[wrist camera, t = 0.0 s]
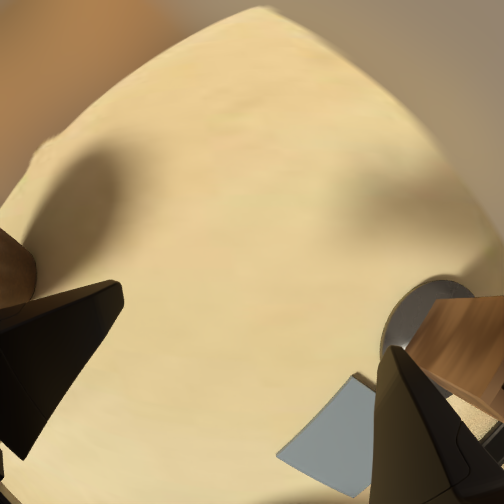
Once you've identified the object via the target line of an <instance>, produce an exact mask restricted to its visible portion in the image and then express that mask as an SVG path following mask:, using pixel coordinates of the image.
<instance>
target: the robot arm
mask: <svg viewBox="0 0 504 504" xmlns="http://www.w3.org/2000/svg"><path fill="white" fill-rule="evenodd" d="M123 307H124V296H123V291H122V285H121V283H120V282H118V281H115V280H106V281H103V282H99V283H95V284H91V285H88V286H84V287H80V288H77V289H73V290H69V291H65V292H62V293H58V294H54V295H51V296H47V297H43V298H40V299H36V300H33V301H29V302H27V303H26V302H25V303H22V304H18V305H14V306H10V307H6V308H2V309H0V443H1V442H3V443H4V444H5V445H6V446H7V447H8V448H9V449H10V450H11V451H12V452H13V453H14V454H16V455H17V456H18V457H19V458H20V459H21V460H22V461H24V460H25V458H26V457H27V455H28V453H29V452H30V450H31V448H32V446H33V445H34V443H35V441H36V440H37V438H38V436H39V435H40V433H41V431H42V430H43V428H44V427H45V425H46V423H47V421H48V420H49V418H50V417H51V415H52V414H53V412H54V410H55V409H56V407H57V406H58V404H59V403H60V401H61V400H62V398H63V397H64V395H65V394H66V392H67V391H68V389H69V388H70V386H71V385H72V383H73V382H74V381H75V379H76V378H77V376H78V375H79V373H80V372H81V370H82V369H83V368H84V366H85V365H86V363H87V362H88V361H89V359H90V358H91V356H92V355H93V354H94V352H95V351H96V350H97V348H98V347H99V345H100V344H101V343H102V341H103V340H104V338H105V337H106V335H107V334H108V332H109V330H110V329H111V327H112V325H113V324H114V322H115V320H116V319H117V317H118V315H119V314H120V312H121V311H122V309H123ZM3 478H4V469H3V455H2V450H1V449H0V504H22V503H21V502H20V501H19V500H18V499H17V498H16V497H15V496H14V495H13V494H12V493H11V492H10V491H9V490H8V489H7V488H6V487H5V486H4V485H3V483H2V482H1V481H2V479H3ZM369 504H504V470H503V468H502V467H501V466H500V465H499V464H498V463H497V462H496V460H495V459H494V458H493V457H492V456H491V455H490V454H489V453H488V451H487V450H486V449H485V448H484V447H483V446H482V445H481V443H480V442H479V441H478V440H477V439H476V437H475V436H474V435H473V434H472V432H471V431H470V430H469V428H468V427H467V426H466V425H465V423H464V422H463V421H461V418H460V417H459V416H458V414H457V413H456V412H455V410H454V409H453V408H452V407H451V405H450V404H449V403H448V402H447V400H446V399H445V398H444V397H443V395H442V394H441V393H440V392H439V390H438V389H437V388H436V387H435V385H434V384H433V383H432V382H431V381H430V379H429V378H428V377H427V376H426V375H425V373H424V372H423V371H422V370H421V369H420V367H419V366H418V365H417V364H416V363H415V361H414V360H413V359H412V358H411V357H410V356H409V354H408V353H407V352H406V351H405V350H404V349H403V348H402V347H401V346H396V345H390V346H388V348H387V349H386V351H385V353H384V355H383V357H382V359H381V361H380V363H379V366H378V370H377V383H376V395H375V405H374V435H373V462H372V477H371V489H370V498H369Z"/></svg>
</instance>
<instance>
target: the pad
mask: <svg viewBox="0 0 504 504" xmlns="http://www.w3.org/2000/svg"><path fill="white" fill-rule="evenodd" d="M375 395H376V392H374V391H373V390H371V389H370V388H369V387H367V386H366V385H364V384H363V383H361V382H360V381H359V380H357V379H356V378H354V377H353V376H350V378H349V379H348V380H347V381H346V382H345V384H344V385H343V386H342V387H341V388H340V389H339V391H338V392H337V393H336V394H335V395H334V396H333V397H332V399H331V400H330V401H329V402H328V403H327V404H326V405H325V406H324V407H323V408H322V410H321V411H320V412H319V413H318V414H317V415H316V416H315V417H314V418H313V419H312V420H311V421H310V422H309V423H308V424H307V425H306V426H305V427H304V428H303V429H302V430H301V431H300V432H299V433H298V434H297V435H296V436H295V437H294V438H293V439H292V440H291V441H290V442H289V443H287V444H286V445H285V446H284V447H283V448H282V449H281V450H280V451H279V452H278V453H277V454H276V457H277V458H279V459H280V460H282V461H284V462H285V463H287V464H289V465H290V466H292V467H294V468H295V469H297V470H299V471H301V472H302V473H304V474H306V475H308V476H310V477H311V478H313V479H315V480H317V481H319V482H321V483H323V484H325V485H327V486H329V487H331V488H333V489H335V490H337V491H339V492H341V493H343V494H345V495H348V496H350V497H352V498H354V497H356V496H357V495H358V494H359V493H361V492H362V491H363V490H364V489H366V488H367V487H368V486H369V485H370V484H371V477H372V462H373V435H374V405H375Z"/></svg>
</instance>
